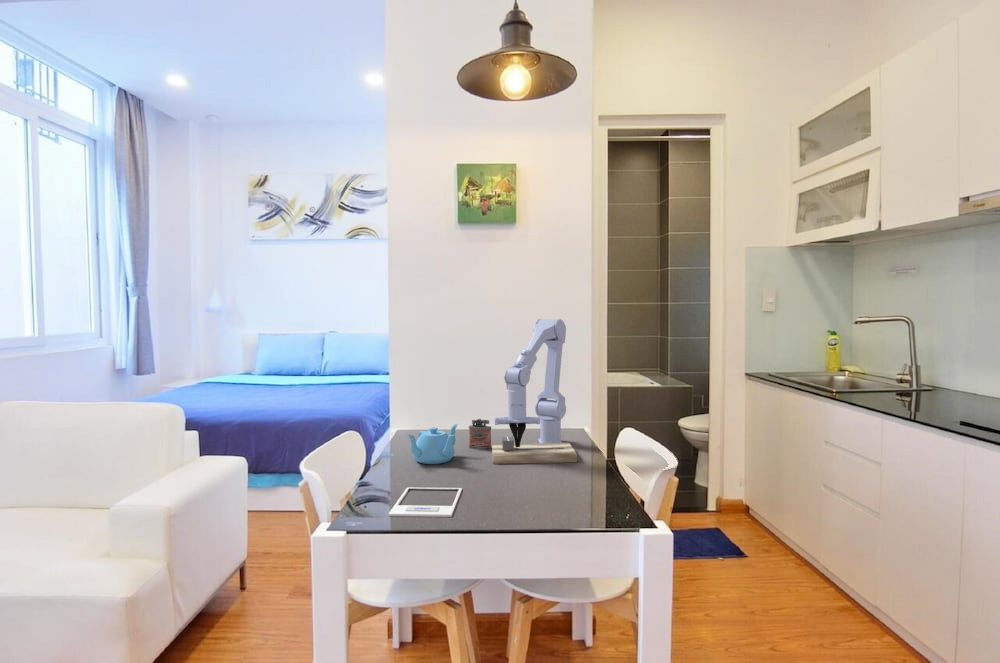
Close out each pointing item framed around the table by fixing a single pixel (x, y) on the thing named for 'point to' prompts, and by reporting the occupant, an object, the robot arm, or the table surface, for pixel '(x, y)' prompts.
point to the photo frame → (424, 507)
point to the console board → (534, 453)
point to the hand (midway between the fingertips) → (517, 446)
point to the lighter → (480, 435)
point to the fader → (507, 443)
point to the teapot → (433, 446)
